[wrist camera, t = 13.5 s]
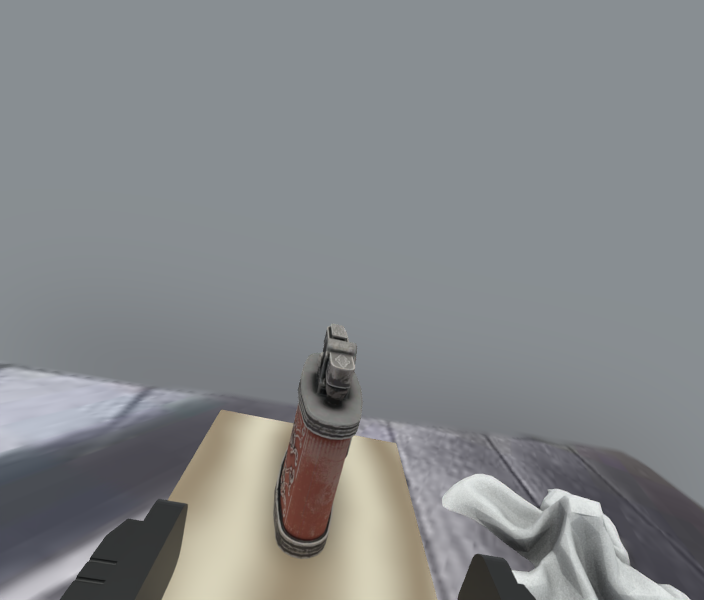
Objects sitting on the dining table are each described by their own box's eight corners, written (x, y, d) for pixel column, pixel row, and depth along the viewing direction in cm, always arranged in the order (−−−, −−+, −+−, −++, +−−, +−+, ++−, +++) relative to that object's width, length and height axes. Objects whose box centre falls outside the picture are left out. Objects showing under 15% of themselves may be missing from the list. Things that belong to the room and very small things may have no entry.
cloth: (504, 769, 15) (556, 664, 14) (404, 469, 33) (423, 411, 32) (893, 780, 19) (965, 696, 17) (611, 501, 37) (636, 449, 35)
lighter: (333, 562, 18) (386, 379, 16) (265, 555, 17) (309, 365, 15) (328, 454, 25) (362, 323, 23) (280, 447, 25) (311, 312, 23)
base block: (383, 485, 30) (396, 443, 29) (423, 712, 16) (449, 646, 15) (212, 454, 28) (221, 409, 28) (99, 674, 15) (108, 599, 14)
